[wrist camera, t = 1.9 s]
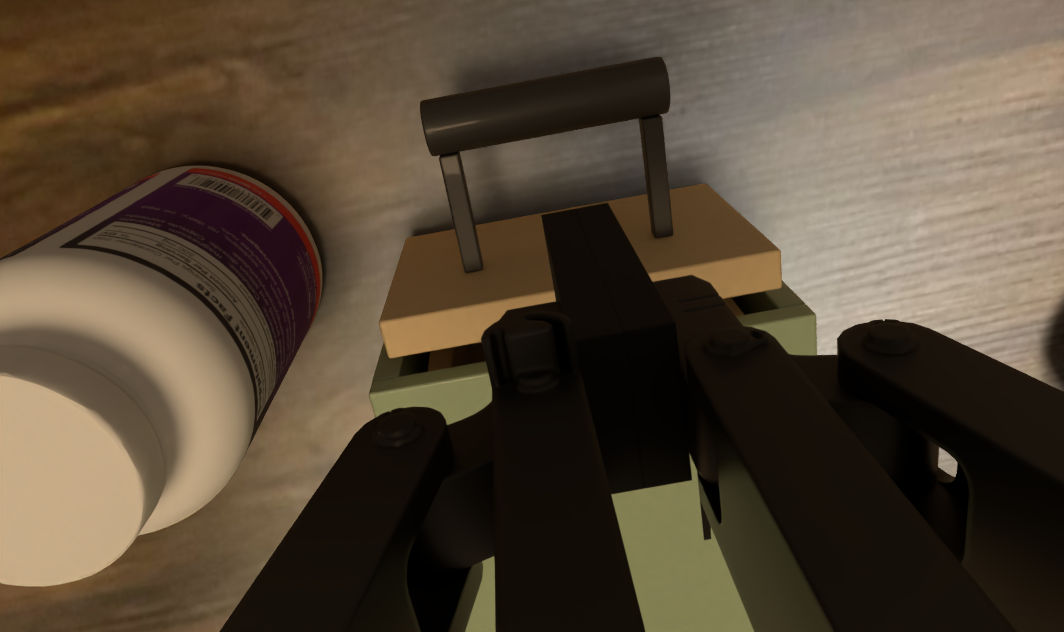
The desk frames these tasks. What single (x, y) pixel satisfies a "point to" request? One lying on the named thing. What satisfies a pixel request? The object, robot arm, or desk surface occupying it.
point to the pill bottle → (141, 362)
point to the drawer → (519, 244)
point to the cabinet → (643, 515)
